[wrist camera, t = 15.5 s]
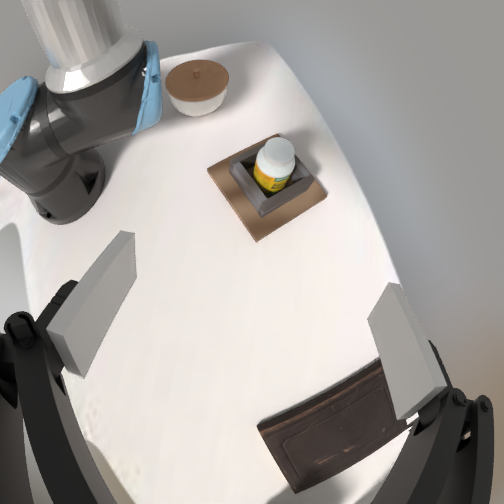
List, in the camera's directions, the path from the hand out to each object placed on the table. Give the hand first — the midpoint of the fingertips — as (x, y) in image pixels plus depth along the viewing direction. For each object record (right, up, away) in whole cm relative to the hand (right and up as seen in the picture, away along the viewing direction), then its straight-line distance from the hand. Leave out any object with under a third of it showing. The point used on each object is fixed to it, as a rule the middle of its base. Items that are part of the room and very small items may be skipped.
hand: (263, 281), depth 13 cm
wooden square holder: (+2, +12, +31) cm, 33 cm away
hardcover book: (+14, -28, +24) cm, 39 cm away
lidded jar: (-11, +29, +33) cm, 45 cm away
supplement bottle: (+2, +12, +30) cm, 32 cm away
